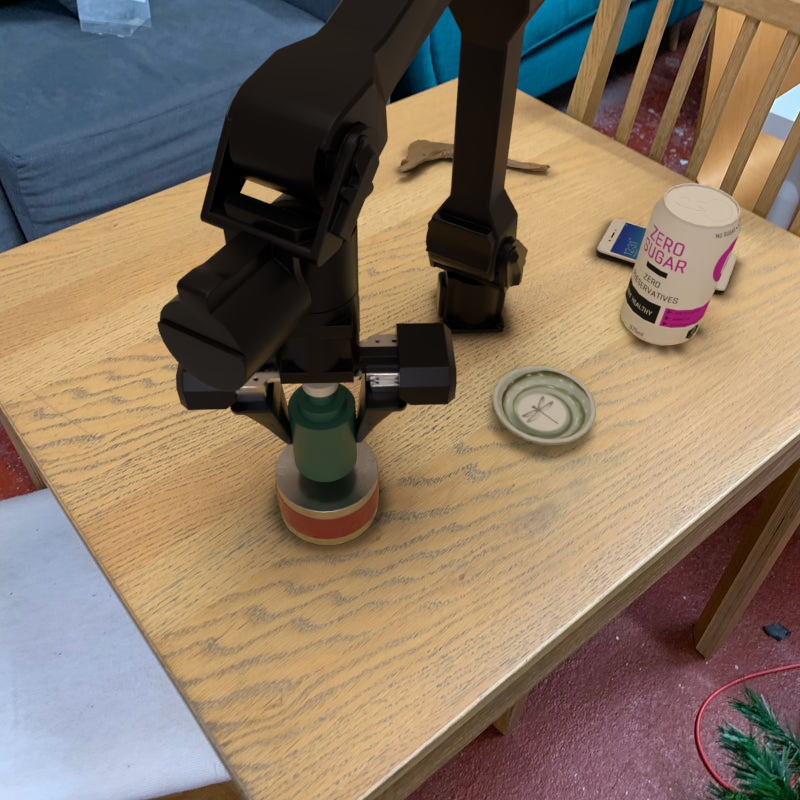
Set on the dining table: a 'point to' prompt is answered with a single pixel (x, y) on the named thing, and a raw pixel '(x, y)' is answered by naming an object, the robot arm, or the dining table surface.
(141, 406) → the dining table surface
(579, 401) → the saucer
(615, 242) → the smartphone
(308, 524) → the tin
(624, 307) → the supplement can
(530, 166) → the jawbone
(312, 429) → the bottle
